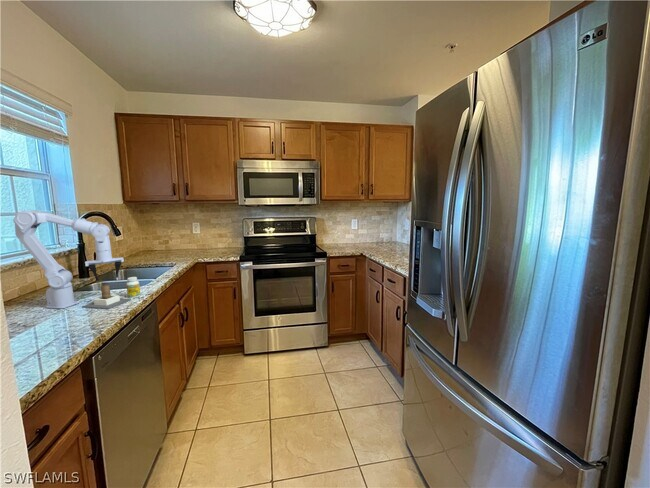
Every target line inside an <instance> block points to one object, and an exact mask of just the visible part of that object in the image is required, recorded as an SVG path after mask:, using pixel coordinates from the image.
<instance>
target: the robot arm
mask: <svg viewBox="0 0 650 488" xmlns="http://www.w3.org/2000/svg"><path fill="white" fill-rule="evenodd" d="M12 221H13V224H14V232H15V233H14V234H15V236H16V238H17V239H18V240H19V241H20V242H21V244H22V245H23V246H24V247H25V249H26V250H27V251H28V252H29V253H30V254H31V256H32V258H33V259H34V260H36V262H37V263H38V265H39V266H40V267H41V268H42V270H44V277H45V278H46V280H47V281H46V282H47V285H48V286H49V287H48V288H47V289H46V291H45V298H46V304H47V305H46V306H45V308H46V309H60V310H61V309H65V308H68V307H72V306H74V305H77V304H80V301H75V296H74V289H73V283H72V282H71V281H73V273H72V272H71V271H69V270H68V269H66V268H65V267H64V266H63V265H61V264H59V263H58V262H57V260H55V258H54V257H53V256H52V254H51V253H50V251H49V250H48V249H47V247H45V245H44V244H43V242H41V240H40V239H39V238H38V237H37V235H36V234H35V233H36V231H37V229H38V227H39V226H40V225H42V223H52V224H57V225H61V226H65V227H70V228H71V229H73V231H74V232H79V233H81V234H82V233H83V234H86V235H90V236H93V238H94V247H95V248H94V249H95V255H96V259H95V260H93V259H92V260H87V261H85V262H84V264H85V265H84V266H85V267H88V269H89V270H90V271H91V272H92V274H93V276H94V279H95V281H99V278H98V274H97V267H96V265H97V266H98V265H105V264H114V268H115V269H114V270H115V278H117V279H118V278H119V272H120V268H121V266H122V263H124V261H125V260H124V257H113V256H112V247H111V240H110V235H109V234H110V232H111V230H110V227H109V226H108V225H107V224H104V223H100V224H99V222H97V221H95V222H92V221H89V220H86V218H82V217H81V218H77V219H70V218H68V217H65V216H60V215H57V214H55V213H50V212H46V211H39V210H36V209H33V210H32V209H31V210H20V211H18V212H17V213H16V214H15V216H14V218H13V219H12Z"/></svg>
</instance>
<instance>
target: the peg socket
mask: <svg viewBox="0 0 650 488" xmlns="http://www.w3.org/2000/svg"><path fill="white" fill-rule="evenodd" d="M130 301H132V298H121V297H120V295H117V294H111V298H109V299H102V296H99V297H97V298H94V299H93V302H91V303H88V304H85V305H82V306H81V308H82V309H83V308H84V309H96V310H97V309H98V310H110V309H113V308H115V307H118V306H121V305H123V304H125V303H128V302H130Z"/></svg>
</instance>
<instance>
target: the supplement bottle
mask: <svg viewBox="0 0 650 488" xmlns="http://www.w3.org/2000/svg"><path fill="white" fill-rule="evenodd" d="M126 281H127V282H126V285H125V286H126V293H127V294H126V295H127V299H135V298H138V297H141V287H140V281H139V280H138V276H131V277H127V279H126Z"/></svg>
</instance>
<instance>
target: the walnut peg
mask: <svg viewBox="0 0 650 488" xmlns="http://www.w3.org/2000/svg"><path fill="white" fill-rule="evenodd" d="M110 288H111V287H110V284H104V285H100V292H101V297H102V299H109V298H111V295H112V294H111V289H110Z"/></svg>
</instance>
